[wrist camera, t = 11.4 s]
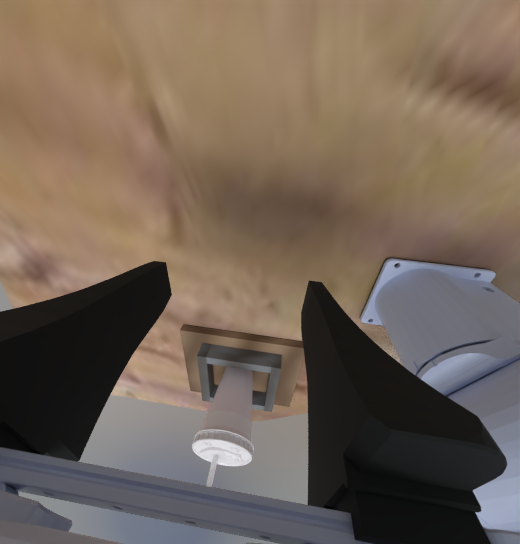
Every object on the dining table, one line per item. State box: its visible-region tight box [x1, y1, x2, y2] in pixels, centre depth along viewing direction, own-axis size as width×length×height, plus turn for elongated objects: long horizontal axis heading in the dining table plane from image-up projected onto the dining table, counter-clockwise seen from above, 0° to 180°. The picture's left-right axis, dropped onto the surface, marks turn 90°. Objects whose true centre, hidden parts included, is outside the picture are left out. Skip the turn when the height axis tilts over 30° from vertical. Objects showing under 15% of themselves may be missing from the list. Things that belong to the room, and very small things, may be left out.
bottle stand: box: [180, 325, 304, 412], centre depth 30 cm, size 16×14×3 cm
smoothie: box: [192, 367, 254, 487], centre depth 24 cm, size 6×6×14 cm
